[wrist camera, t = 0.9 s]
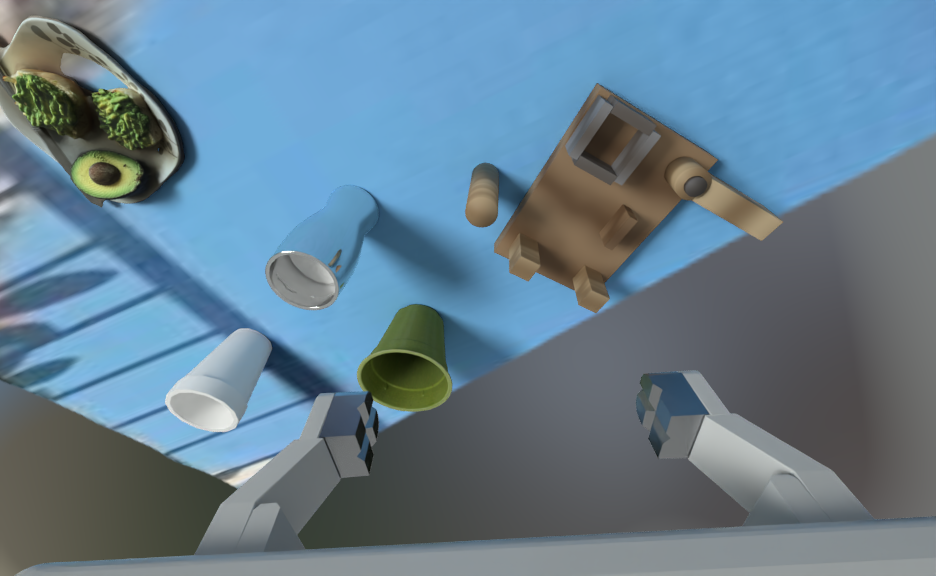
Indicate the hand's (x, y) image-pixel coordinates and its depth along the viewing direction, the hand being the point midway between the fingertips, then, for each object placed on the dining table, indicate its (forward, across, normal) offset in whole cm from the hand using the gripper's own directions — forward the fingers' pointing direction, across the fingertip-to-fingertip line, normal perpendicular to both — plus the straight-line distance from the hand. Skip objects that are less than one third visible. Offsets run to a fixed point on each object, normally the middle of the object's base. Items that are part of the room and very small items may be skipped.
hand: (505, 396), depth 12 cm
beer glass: (+37, +15, +7) cm, 40 cm away
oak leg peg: (+35, -1, +4) cm, 35 cm away
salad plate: (+39, +41, -4) cm, 56 cm away
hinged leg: (+30, -24, +5) cm, 39 cm away
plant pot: (+38, +9, +25) cm, 46 cm away
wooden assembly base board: (+34, -13, +7) cm, 37 cm away
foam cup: (+41, +37, +29) cm, 62 cm away
